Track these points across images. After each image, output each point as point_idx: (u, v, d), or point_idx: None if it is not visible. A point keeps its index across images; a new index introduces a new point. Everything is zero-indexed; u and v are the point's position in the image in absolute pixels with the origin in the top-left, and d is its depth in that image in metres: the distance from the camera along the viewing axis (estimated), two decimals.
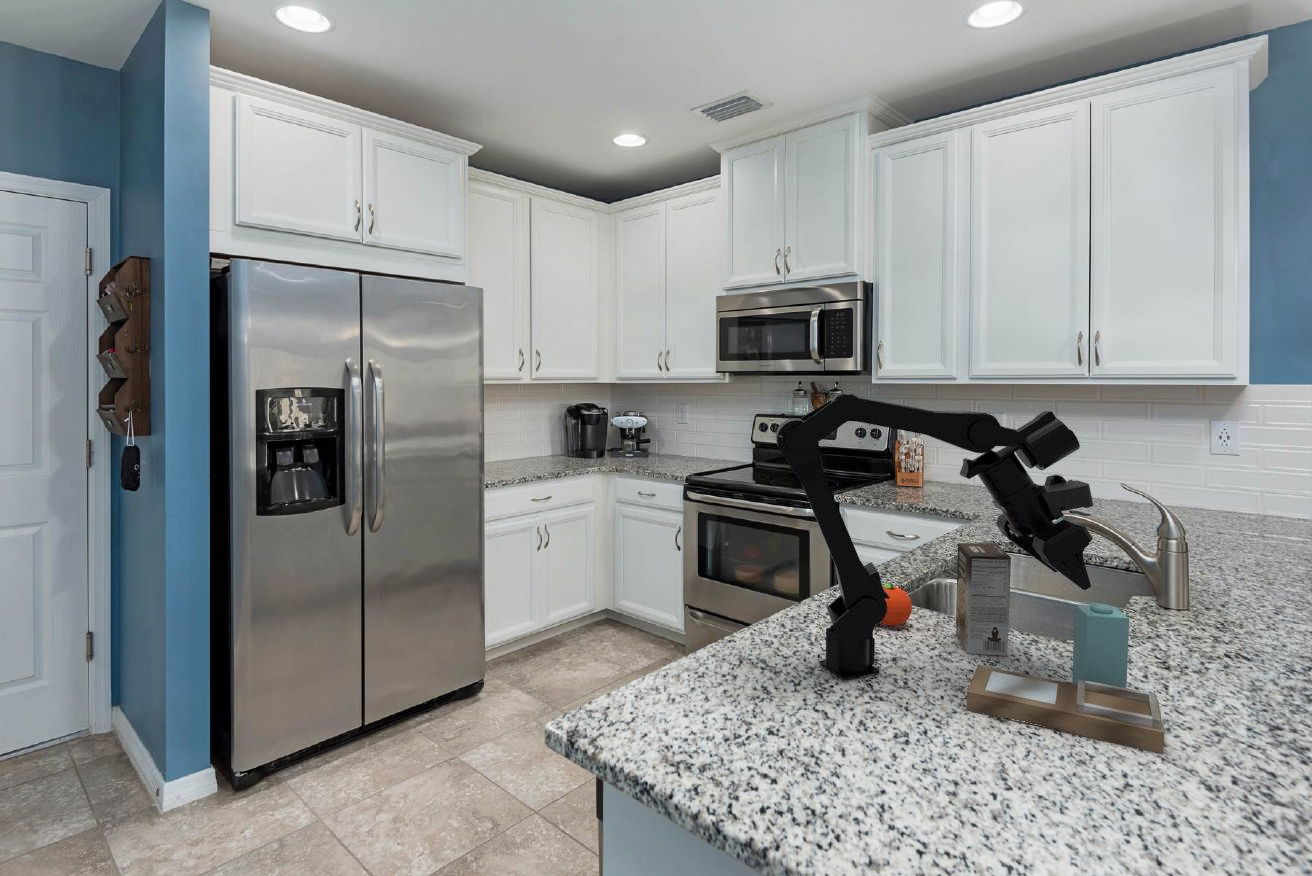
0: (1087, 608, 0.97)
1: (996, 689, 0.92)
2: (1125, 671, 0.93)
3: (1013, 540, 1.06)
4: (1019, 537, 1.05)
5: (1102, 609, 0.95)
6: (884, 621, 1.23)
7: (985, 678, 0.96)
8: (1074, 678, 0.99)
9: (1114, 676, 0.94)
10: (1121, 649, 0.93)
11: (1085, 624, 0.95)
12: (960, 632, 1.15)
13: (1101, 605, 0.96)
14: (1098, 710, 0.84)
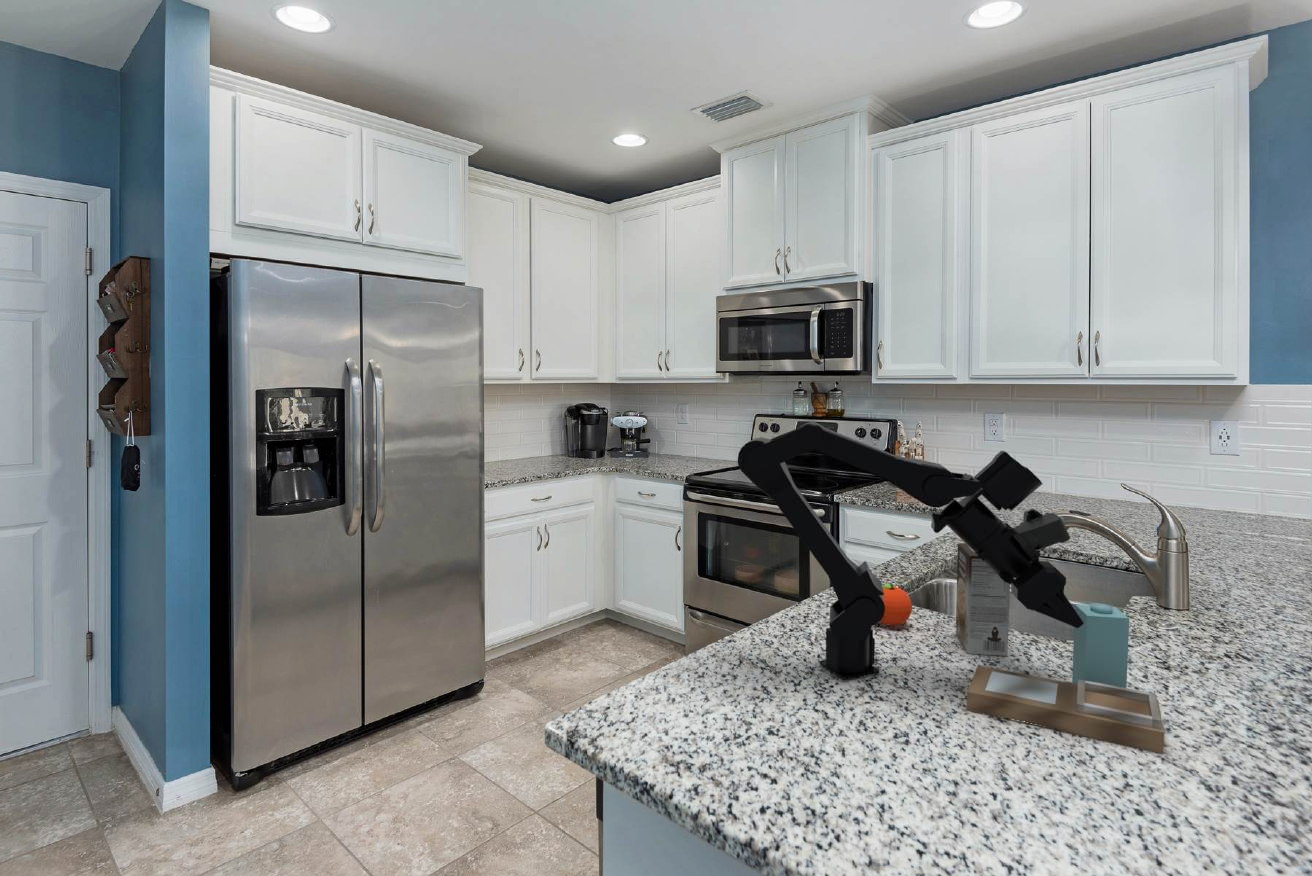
0: (1087, 608, 0.97)
1: (996, 689, 0.92)
2: (1125, 671, 0.93)
3: (1006, 580, 1.04)
4: None
5: (1102, 609, 0.95)
6: (884, 621, 1.23)
7: (985, 678, 0.96)
8: (1074, 678, 0.99)
9: (1114, 676, 0.94)
10: (1121, 649, 0.93)
11: (1085, 624, 0.95)
12: (960, 632, 1.15)
13: (1101, 605, 0.96)
14: (1098, 710, 0.84)
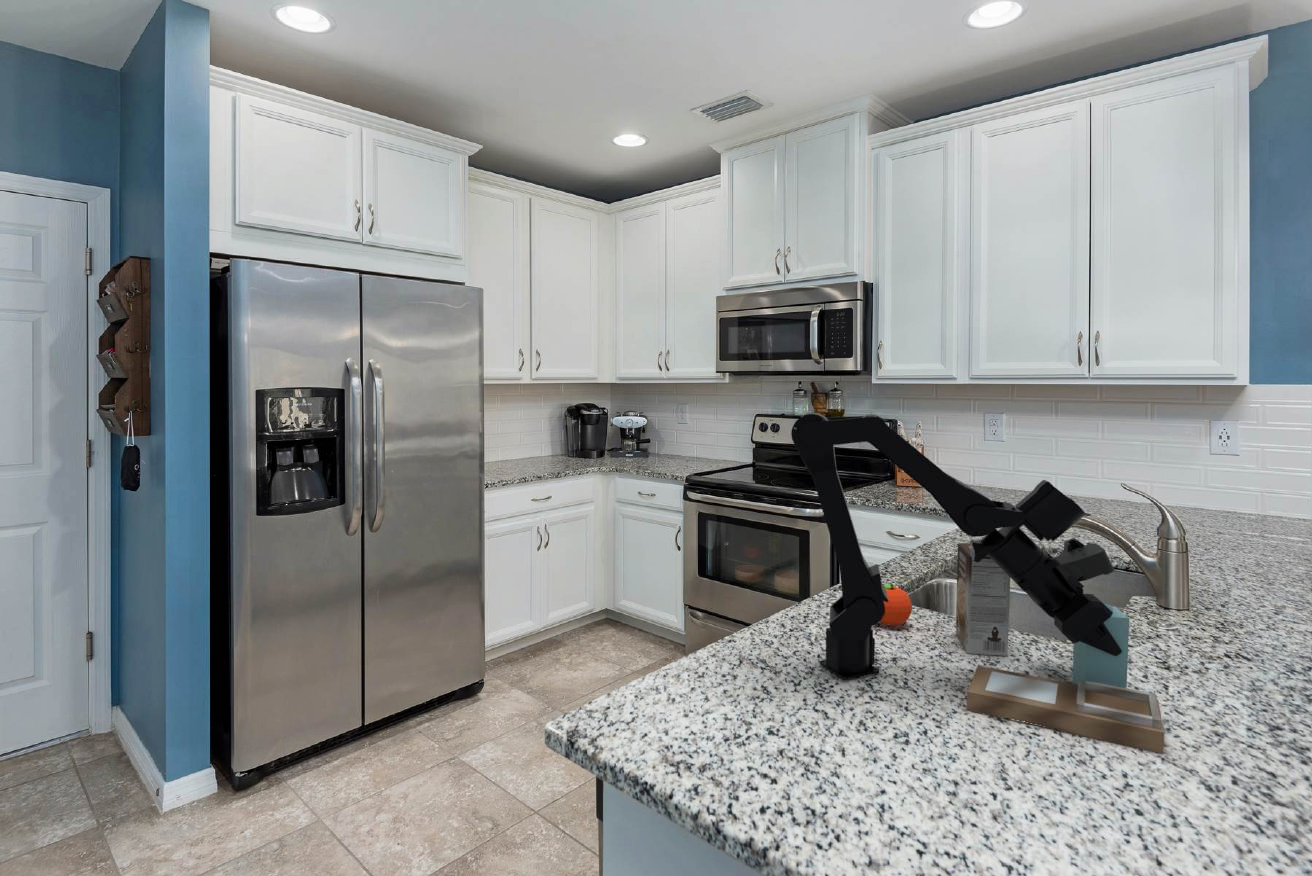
0: None
1: (996, 689, 0.92)
2: (1125, 671, 0.93)
3: (1049, 614, 1.01)
4: (1054, 610, 1.00)
5: None
6: (884, 621, 1.23)
7: (985, 678, 0.96)
8: (1074, 678, 0.99)
9: (1114, 675, 0.94)
10: (1121, 649, 0.93)
11: None
12: (960, 632, 1.15)
13: None
14: (1098, 710, 0.84)
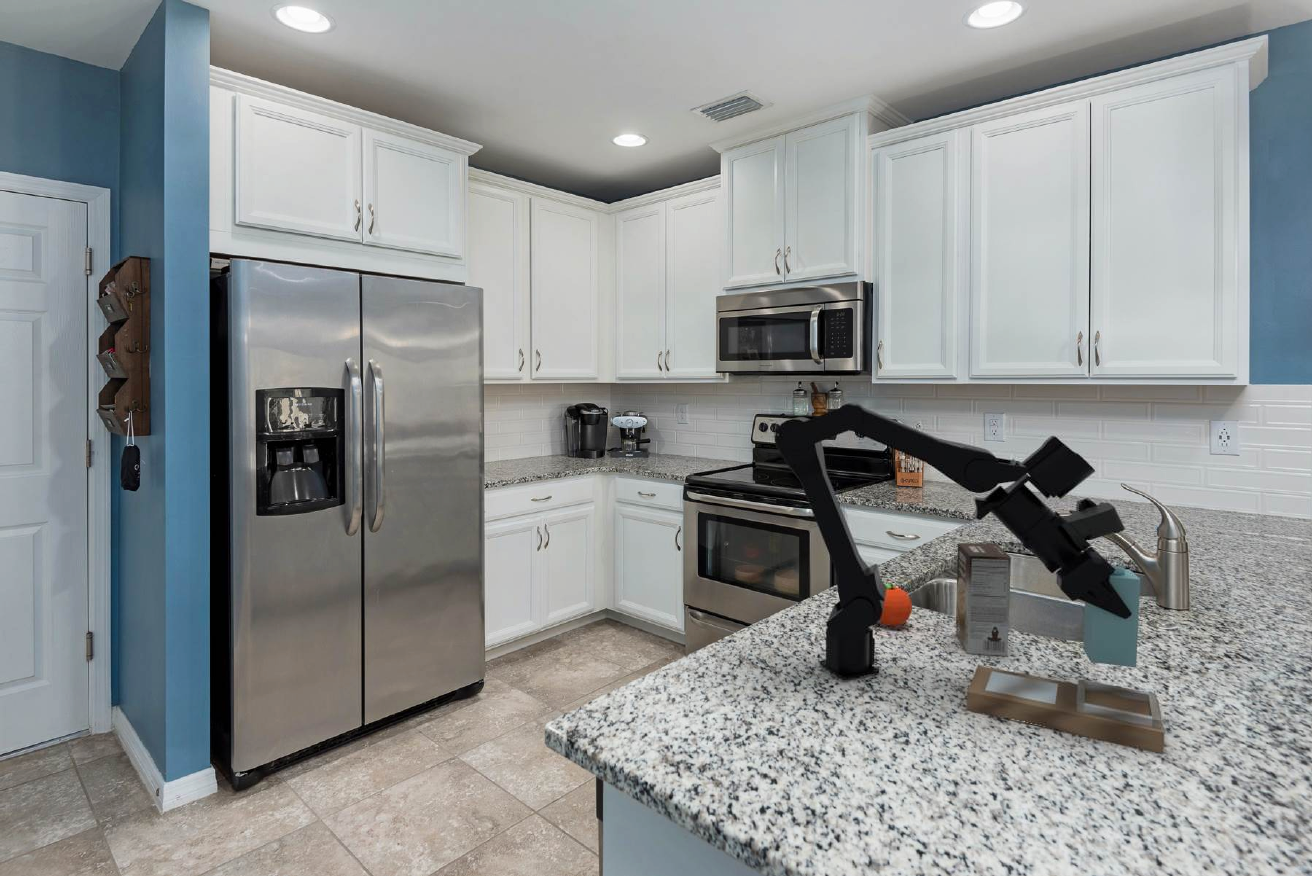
0: None
1: (996, 689, 0.92)
2: (1136, 635, 0.89)
3: None
4: None
5: None
6: (884, 621, 1.23)
7: (985, 678, 0.96)
8: (1084, 643, 0.95)
9: (1124, 639, 0.90)
10: (1131, 612, 0.89)
11: None
12: (960, 632, 1.15)
13: (1113, 567, 0.92)
14: (1098, 710, 0.84)
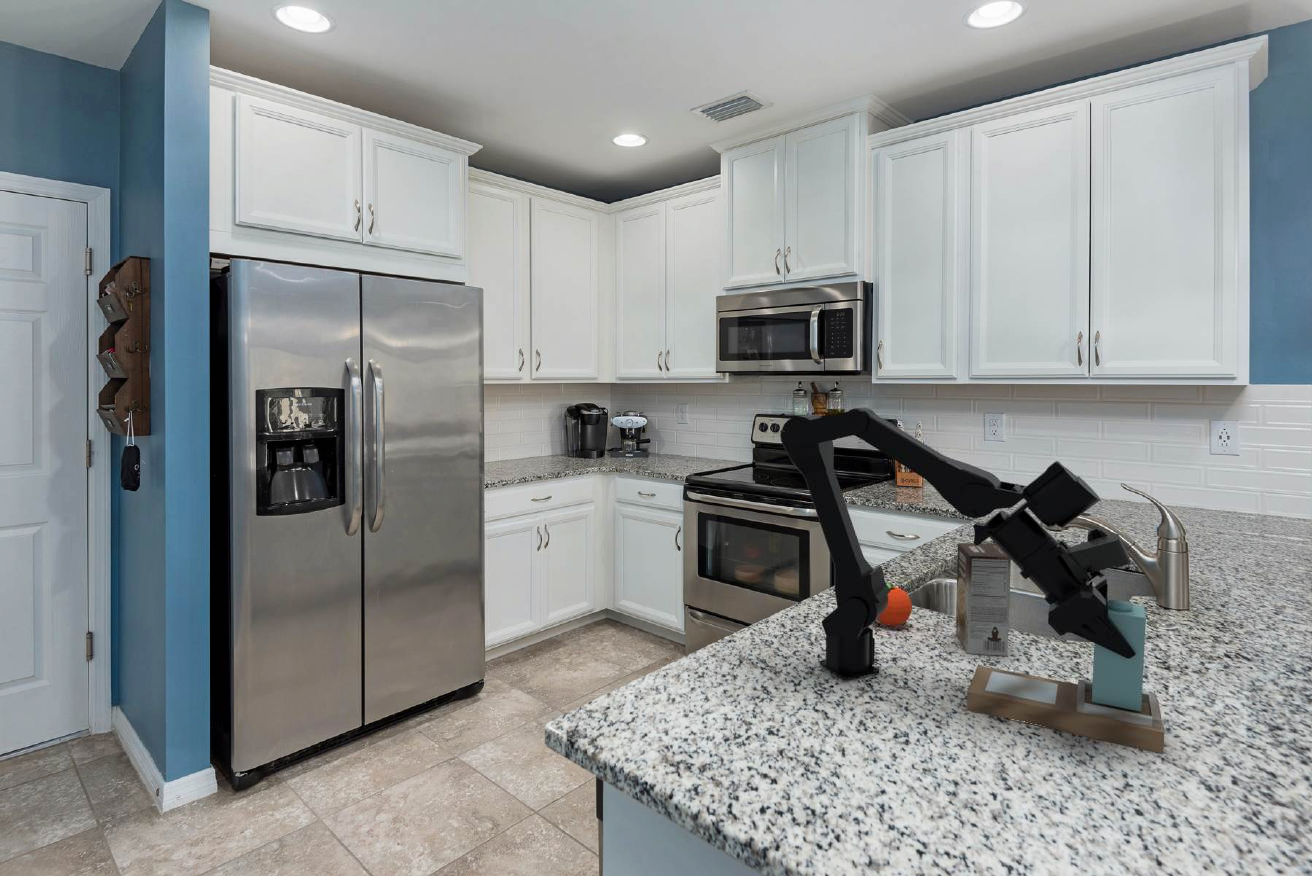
0: None
1: (996, 689, 0.92)
2: (1140, 677, 0.83)
3: None
4: None
5: (1117, 606, 0.85)
6: (884, 621, 1.23)
7: (985, 678, 0.96)
8: None
9: (1127, 680, 0.84)
10: (1136, 651, 0.83)
11: None
12: (960, 632, 1.15)
13: (1121, 602, 0.86)
14: (1098, 710, 0.84)
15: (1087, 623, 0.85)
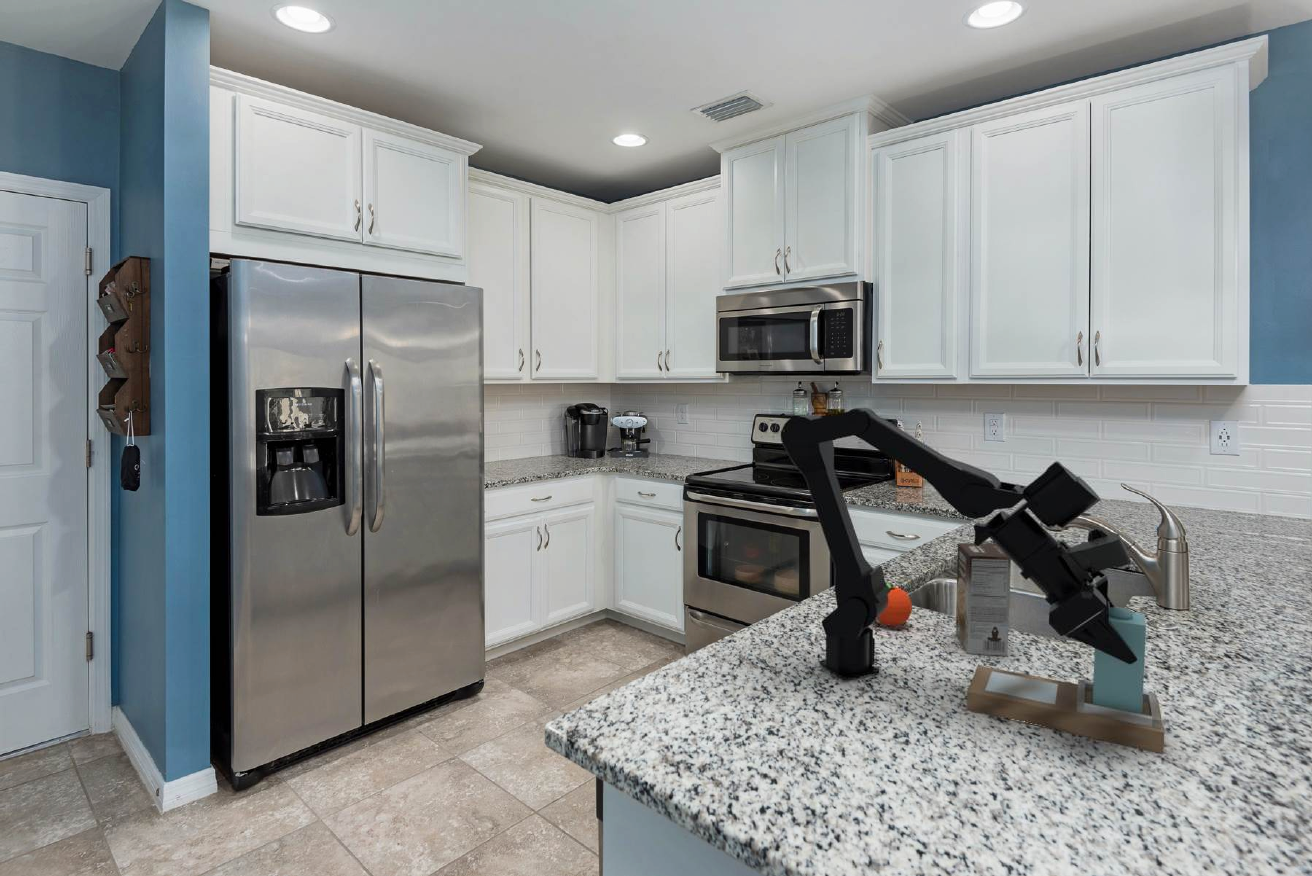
0: None
1: (996, 689, 0.92)
2: (1141, 684, 0.83)
3: None
4: None
5: (1117, 613, 0.85)
6: (884, 621, 1.23)
7: (985, 678, 0.96)
8: None
9: (1128, 688, 0.84)
10: None
11: None
12: (960, 632, 1.15)
13: (1121, 610, 0.86)
14: (1098, 710, 0.84)
15: (1088, 628, 0.83)
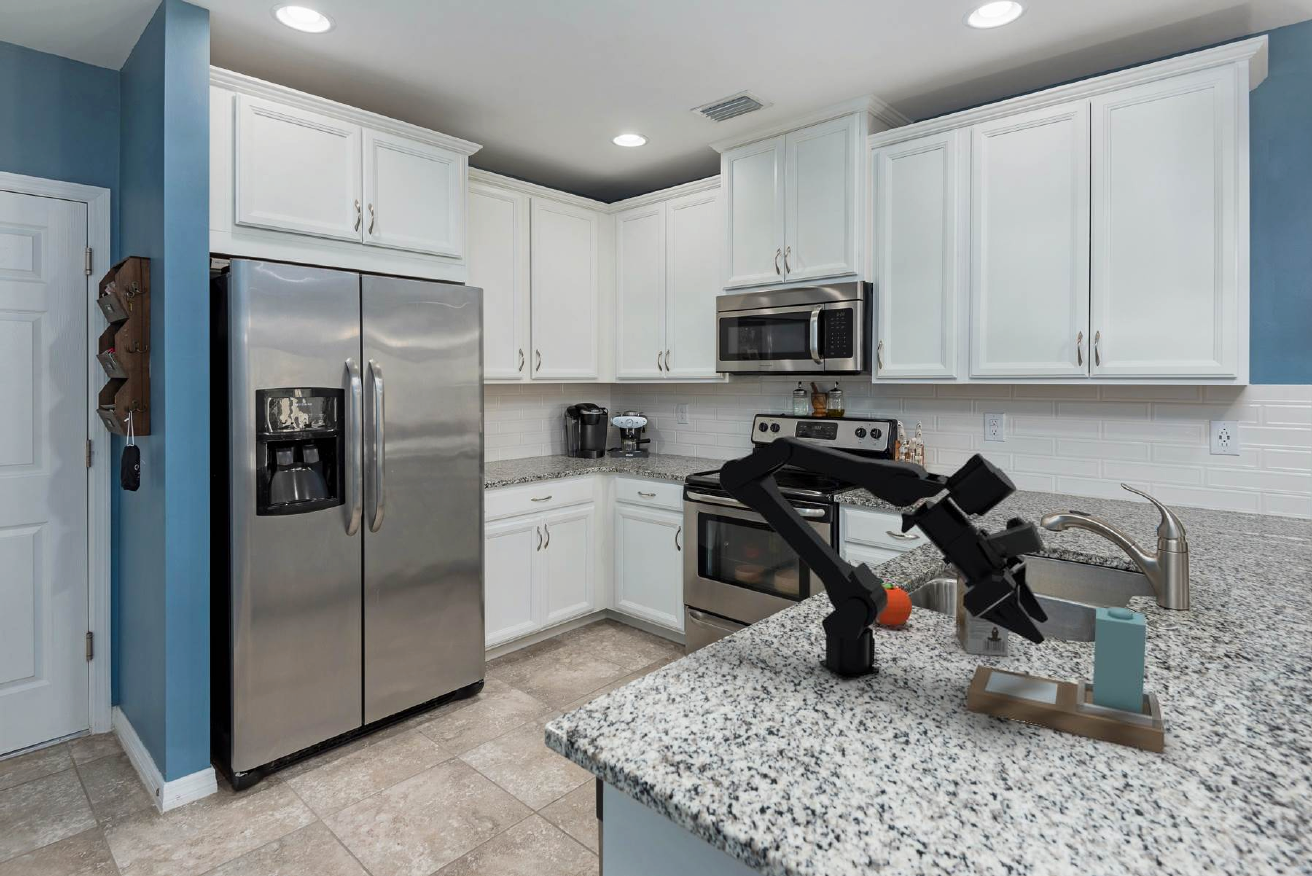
0: (1106, 612, 0.88)
1: (996, 689, 0.92)
2: (1141, 684, 0.83)
3: None
4: None
5: (1117, 613, 0.85)
6: (884, 621, 1.23)
7: (985, 678, 0.96)
8: None
9: (1128, 688, 0.84)
10: (1136, 659, 0.84)
11: (1095, 628, 0.86)
12: (960, 632, 1.15)
13: (1121, 610, 0.86)
14: (1098, 710, 0.84)
15: (1000, 610, 0.88)
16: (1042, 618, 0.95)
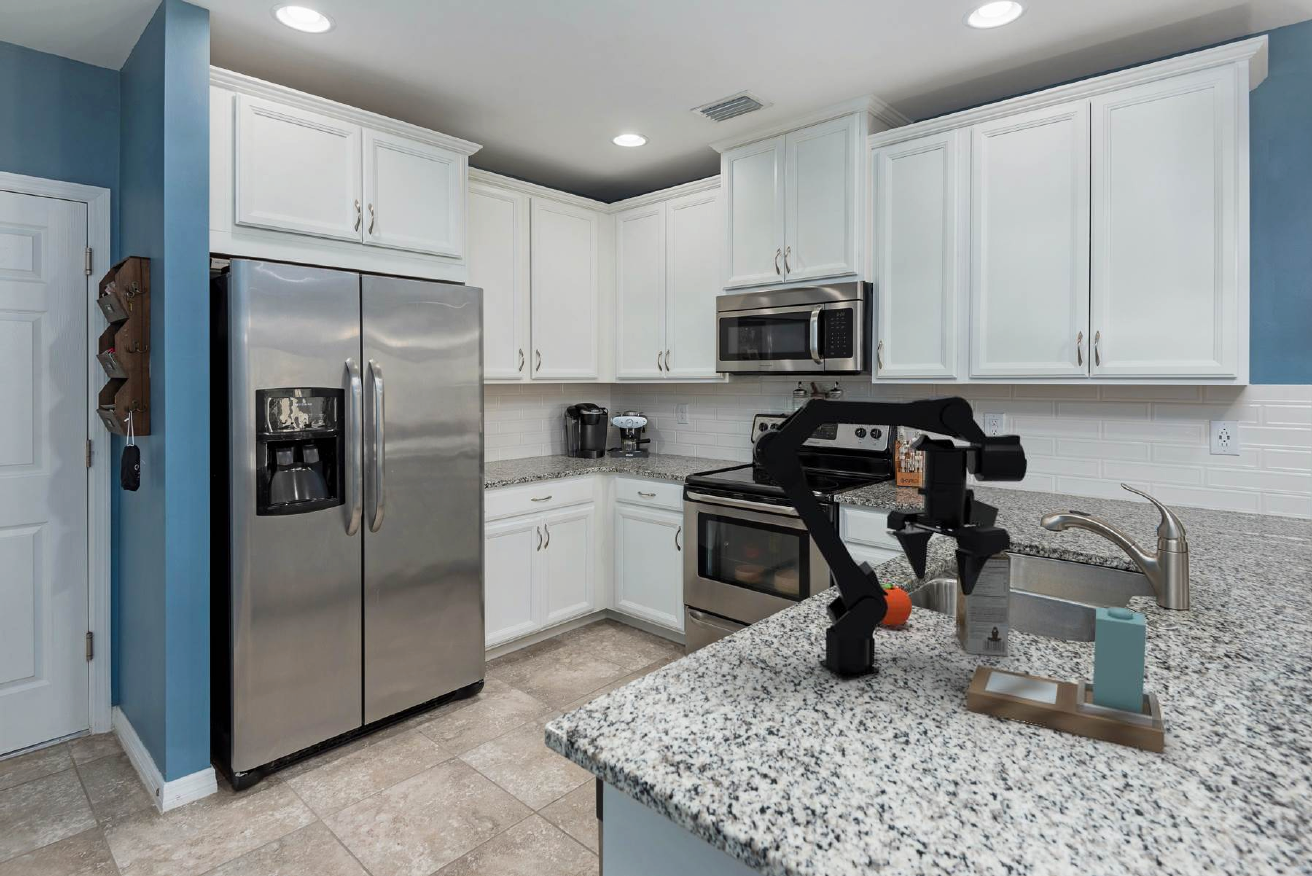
0: (1106, 612, 0.88)
1: (996, 689, 0.92)
2: (1141, 684, 0.83)
3: (902, 534, 1.06)
4: (908, 534, 1.07)
5: (1117, 613, 0.85)
6: (884, 621, 1.23)
7: (985, 678, 0.96)
8: None
9: (1128, 688, 0.84)
10: (1136, 659, 0.84)
11: (1095, 628, 0.86)
12: (960, 632, 1.15)
13: (1121, 610, 0.86)
14: (1098, 710, 0.84)
15: (970, 556, 0.97)
16: (921, 575, 1.07)
